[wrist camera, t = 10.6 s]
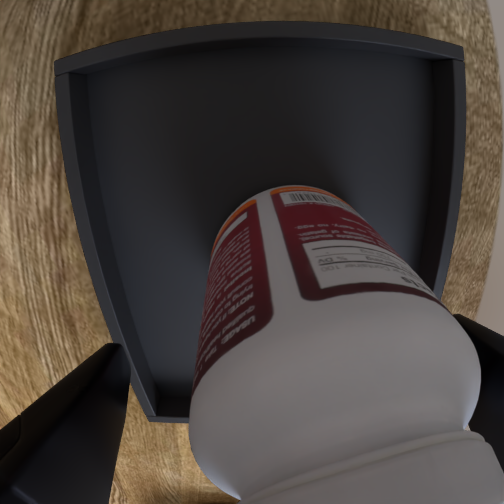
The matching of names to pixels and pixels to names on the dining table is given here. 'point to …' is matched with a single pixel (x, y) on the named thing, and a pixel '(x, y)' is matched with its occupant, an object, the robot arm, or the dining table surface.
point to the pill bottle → (331, 367)
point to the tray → (247, 161)
